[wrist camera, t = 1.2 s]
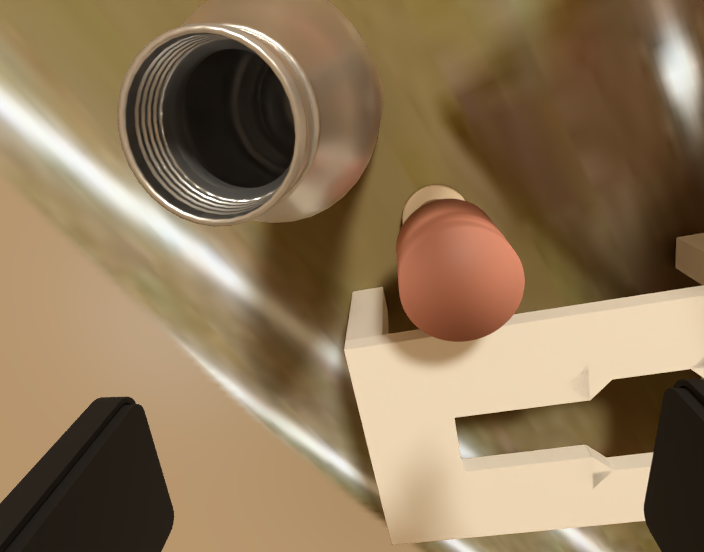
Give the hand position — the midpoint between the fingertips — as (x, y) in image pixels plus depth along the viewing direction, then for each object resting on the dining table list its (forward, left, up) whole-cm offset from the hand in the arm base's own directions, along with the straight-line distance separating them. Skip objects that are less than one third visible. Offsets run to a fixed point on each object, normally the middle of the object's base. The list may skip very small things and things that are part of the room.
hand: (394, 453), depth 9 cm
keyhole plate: (-8, +13, -22) cm, 27 cm away
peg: (-3, +2, -22) cm, 22 cm away
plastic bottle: (+2, -6, -22) cm, 23 cm away
